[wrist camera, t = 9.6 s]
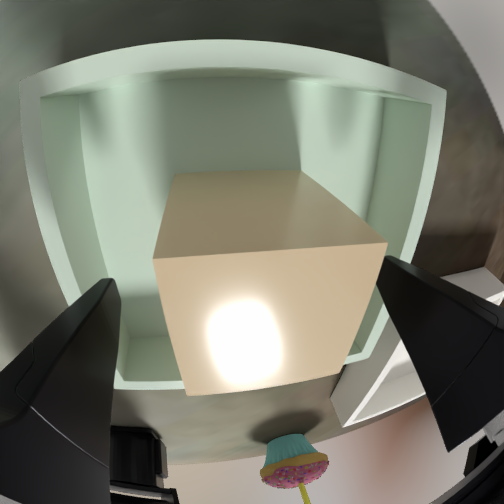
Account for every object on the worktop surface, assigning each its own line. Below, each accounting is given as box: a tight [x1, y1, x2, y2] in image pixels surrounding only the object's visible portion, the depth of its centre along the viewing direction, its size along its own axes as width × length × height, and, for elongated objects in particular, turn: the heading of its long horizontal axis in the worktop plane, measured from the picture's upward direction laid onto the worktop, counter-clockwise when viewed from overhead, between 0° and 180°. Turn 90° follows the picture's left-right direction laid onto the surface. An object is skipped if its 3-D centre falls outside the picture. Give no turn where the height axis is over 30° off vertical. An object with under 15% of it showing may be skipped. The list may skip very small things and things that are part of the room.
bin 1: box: [20, 40, 447, 390], centre depth 11 cm, size 14×14×4 cm
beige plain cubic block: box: [152, 170, 388, 396], centre depth 9 cm, size 5×5×6 cm
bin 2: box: [330, 267, 504, 427], centre depth 20 cm, size 14×14×4 cm
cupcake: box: [260, 434, 329, 504], centre depth 24 cm, size 9×8×12 cm
